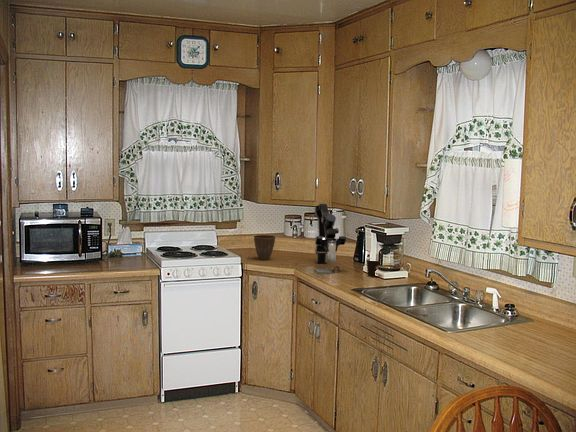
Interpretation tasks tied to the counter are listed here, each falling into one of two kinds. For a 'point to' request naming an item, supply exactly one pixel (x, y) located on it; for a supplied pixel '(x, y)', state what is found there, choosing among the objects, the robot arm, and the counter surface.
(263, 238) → the plant pot
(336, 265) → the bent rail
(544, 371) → the counter surface
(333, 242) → the steel canister
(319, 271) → the slate pad
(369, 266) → the coffee mug
